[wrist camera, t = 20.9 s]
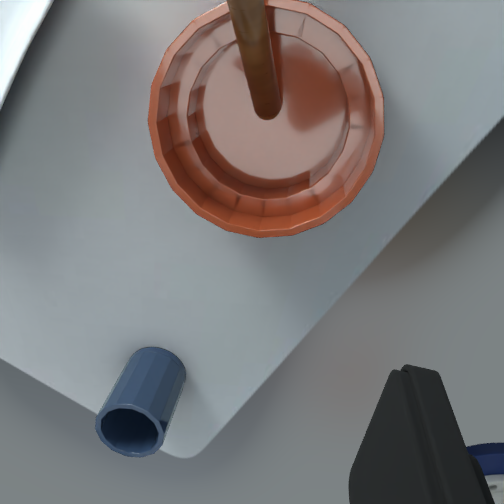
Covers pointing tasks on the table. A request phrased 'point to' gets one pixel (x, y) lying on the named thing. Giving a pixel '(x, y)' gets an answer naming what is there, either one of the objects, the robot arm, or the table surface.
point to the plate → (17, 36)
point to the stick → (256, 55)
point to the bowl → (267, 122)
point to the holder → (142, 403)
